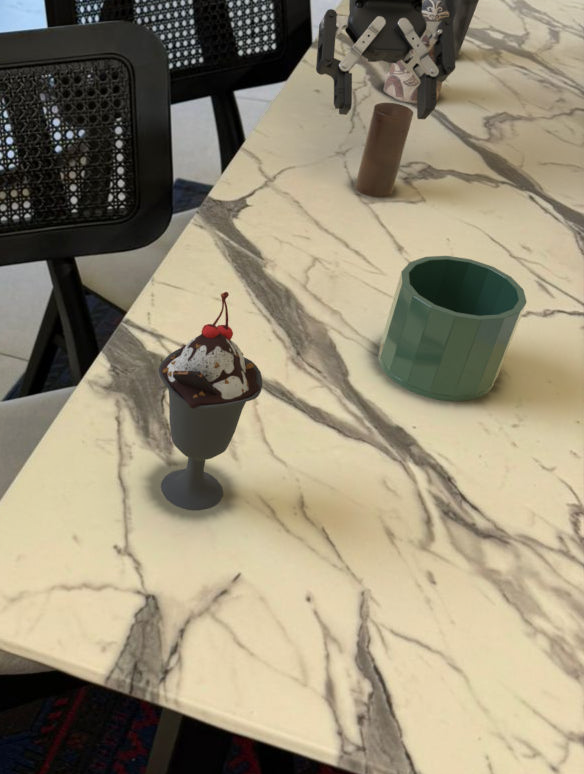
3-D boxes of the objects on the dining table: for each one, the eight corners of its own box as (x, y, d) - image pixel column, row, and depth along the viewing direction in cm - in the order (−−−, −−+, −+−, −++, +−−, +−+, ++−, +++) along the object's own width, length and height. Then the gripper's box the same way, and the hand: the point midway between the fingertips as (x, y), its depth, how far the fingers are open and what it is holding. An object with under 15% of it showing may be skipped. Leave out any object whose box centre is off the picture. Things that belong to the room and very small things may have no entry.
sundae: (212, 453, 75) (244, 273, 65) (254, 513, 71) (295, 329, 61) (129, 470, 73) (149, 287, 63) (167, 533, 69) (194, 346, 59)
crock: (507, 364, 87) (539, 281, 82) (473, 419, 81) (506, 333, 76) (400, 325, 91) (425, 243, 85) (360, 375, 84) (384, 290, 79)
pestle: (396, 190, 112) (418, 109, 106) (383, 203, 109) (405, 120, 103) (362, 180, 113) (382, 99, 107) (348, 192, 111) (368, 110, 105)
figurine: (379, 99, 132) (403, 1, 124) (386, 81, 137) (409, -14, 130) (435, 109, 131) (463, 11, 123) (439, 91, 136) (467, -5, 128)
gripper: (330, -60, 105) (329, 95, 104) (465, -50, 106) (465, 102, 105) (310, -19, 112) (309, 125, 111) (436, -11, 113) (436, 132, 112)
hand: (385, 114), depth 108 cm, fingers open, 8 cm apart
